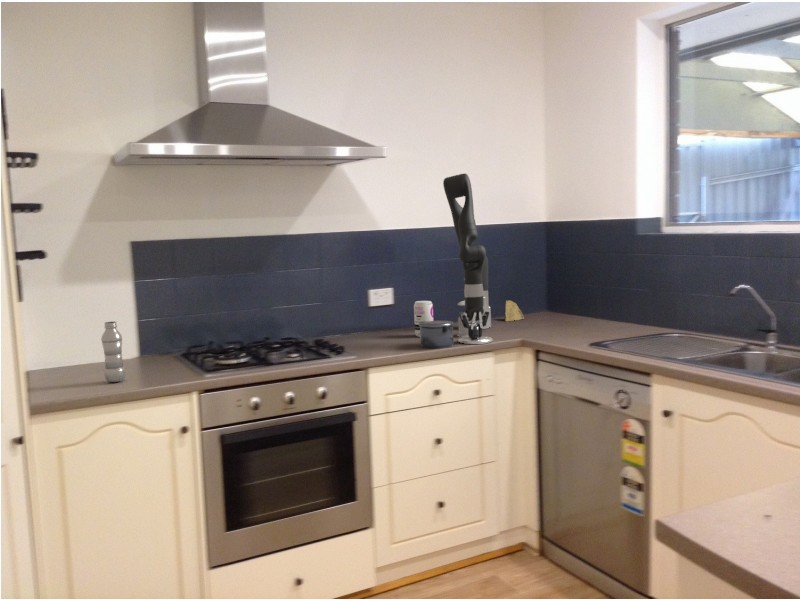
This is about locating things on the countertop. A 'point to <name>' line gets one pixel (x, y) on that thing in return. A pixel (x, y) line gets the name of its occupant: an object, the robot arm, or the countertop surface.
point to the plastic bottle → (113, 353)
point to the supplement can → (422, 314)
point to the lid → (475, 338)
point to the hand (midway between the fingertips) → (475, 337)
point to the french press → (462, 331)
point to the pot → (436, 334)
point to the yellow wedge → (512, 311)
